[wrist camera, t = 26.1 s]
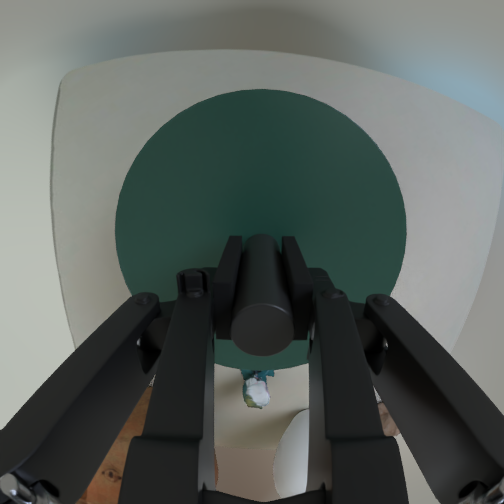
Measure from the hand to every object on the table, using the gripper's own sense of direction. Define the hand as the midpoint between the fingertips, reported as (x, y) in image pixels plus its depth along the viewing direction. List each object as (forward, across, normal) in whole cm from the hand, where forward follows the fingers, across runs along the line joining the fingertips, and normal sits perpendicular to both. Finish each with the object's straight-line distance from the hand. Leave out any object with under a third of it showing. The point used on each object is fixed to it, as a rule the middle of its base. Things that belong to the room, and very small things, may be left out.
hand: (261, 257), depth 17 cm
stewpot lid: (+2, 0, 0) cm, 2 cm away
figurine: (+19, +1, -28) cm, 34 cm away
